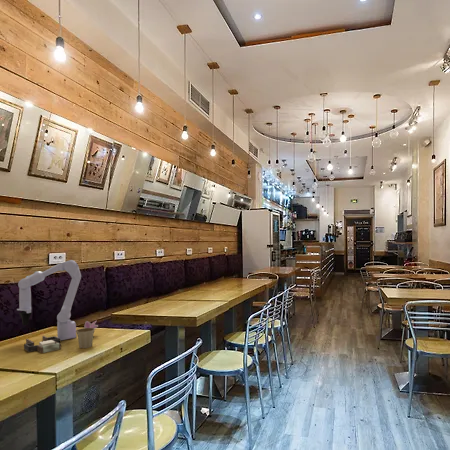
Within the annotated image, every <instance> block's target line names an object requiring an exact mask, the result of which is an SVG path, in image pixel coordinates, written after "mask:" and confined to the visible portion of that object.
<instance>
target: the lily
mask: <svg viewBox="0 0 450 450" xmlns="http://www.w3.org/2000/svg"><path fill="white" fill-rule="evenodd" d="M96 323H97V320H95V321H93V322H92V323H91V321H88V320H85V323H84V327H83V328H95V329H97V328H98V327H99V325H98V324H96ZM93 339H94V336H93Z"/></svg>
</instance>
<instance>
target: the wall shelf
mask: <svg viewBox="0 0 450 450" xmlns="http://www.w3.org/2000/svg"><path fill="white" fill-rule="evenodd" d="M48 340H53V341H54V342H55V344H51V345H46V346H43V347H41V346H40V345H39V344H36V345H35V342H34V341H32V340H31V339H29V338H26V339H25V343H24V344H23V349H24V350H25V351H26V352H27V353H30V352H38V353H39V352H40V353H41V354H44V353H49V352H53V351H58V350H61V349H62V344H61V340H60V338H58V336H55V335H54V336H49V337H48V336H45V335H42V342H43V341H48Z"/></svg>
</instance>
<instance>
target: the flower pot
mask: <svg viewBox="0 0 450 450" xmlns="http://www.w3.org/2000/svg"><path fill="white" fill-rule="evenodd" d="M95 330H96V328H84V327H82V328H77V329H76V336H77V340H78V347H79V348H80V349H82V348H83V349H88V348H91V347H92V346H93V342H94V341H93V340H94V338H93V337H94V333H95Z"/></svg>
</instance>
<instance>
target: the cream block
mask: <svg viewBox="0 0 450 450" xmlns="http://www.w3.org/2000/svg"><path fill="white" fill-rule="evenodd" d="M51 344H55V342H54V341H53V340H48V341H43V340H42V341H39V344H38V345H40V346H41V347H43V346H46V345H51Z"/></svg>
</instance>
